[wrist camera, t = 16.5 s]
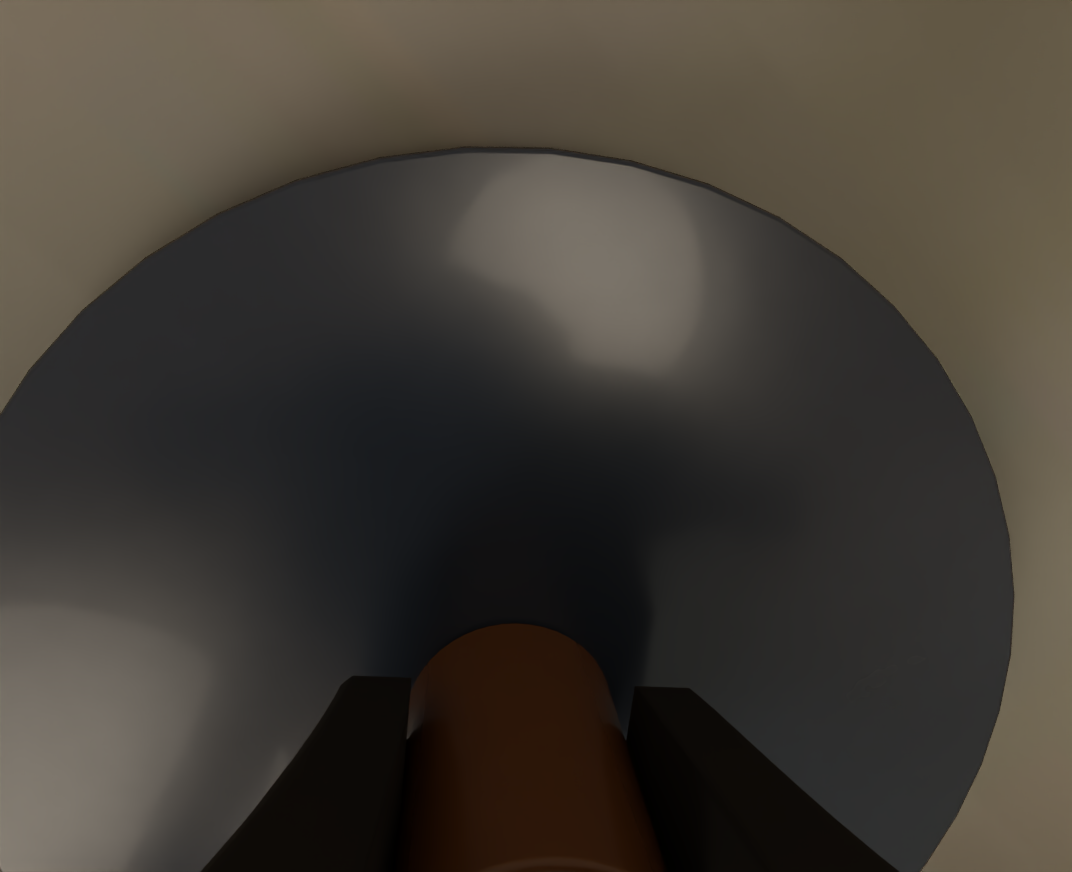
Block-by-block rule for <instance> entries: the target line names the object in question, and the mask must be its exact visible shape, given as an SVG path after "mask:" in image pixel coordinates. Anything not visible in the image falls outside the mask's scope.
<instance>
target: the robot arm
mask: <svg viewBox="0 0 1072 872" xmlns="http://www.w3.org/2000/svg"><path fill="white" fill-rule="evenodd" d="M410 687H411V678H404V677H377V676H351V677H350V678H349V679H348V680H346V681H345V682H344V683H343V684H341V685H340V687H339V689H338V691H337V693H336V695H335V697H334V698H333V700H332V702H331V703H330V705H329V706H328V708H327V710H326V711H325V713H324V715H323V716H322V718H321V719H320V721H319V722H318V724H317V725H316V727H315V728H314V730H313V731H312V733H311V734H310V735H309V737H308V738H307V740H306V741H305V743H304V744H303V745H302V747H301V748H300V750H299V751H298V752H297V754H296V755H295V757H294V758H293V759H292V761H291V762H290V763H289V765H288V766H287V767H286V768H285V770H284V771H283V772H282V774H281V775H280V776H279V778H278V779H277V780H276V781H275V783H274V784H273V785H272V787H271V788H270V789H269V790H268V792H267V793H266V794H265V796H264V797H263V798H262V800H261V801H260V802H259V803H258V805H257V806H256V807H255V809H254V810H253V811H252V812H251V814H250V815H249V816H248V817H247V818H246V820H245V821H244V822H243V823H242V825H241V826H240V827H239V828H238V829H237V830H236V832H235V833H234V834H233V835H232V836H231V837H230V838H229V840H228V841H227V842H226V843H225V844H224V845H223V846H222V848H221V849H220V850H219V851H218V852H217V853H216V854H215V856H214V857H213V858H212V859H211V860H210V861H209V862H208V864H207V865H206V866H205V867H204V868H203V869H202V870H201V872H393V861H394V852H395V842H396V836H397V830H398V823H399V817H400V810H401V799H402V787H403V776H404V764H405V753H406V741H407V727H408V714H409V700H410ZM626 743H627V746H628V749H629V752H630V756H631V759H632V762H633V765H634V768H635V771H636V774H637V777H638V781H639V784H640V787H641V790H642V793H643V796H644V799H645V802H646V805H647V809H648V812H649V815H650V818H651V821H652V824H653V827H654V830H655V833H656V837H657V840H658V843H659V846H660V849H661V852H662V855H663V858H664V861H665V865H666V868H667V871H668V872H899V871H898V870H897V869H896V868H894V867H893V866H892V865H891V864H889V863H888V862H887V861H886V860H884V859H883V858H882V857H881V856H879V855H878V854H877V853H876V852H874V851H873V850H872V849H871V848H870V847H869V846H867V845H866V844H865V843H864V842H863V841H861V840H860V839H859V838H858V837H857V836H855V835H854V834H853V833H852V832H851V831H850V830H848V829H847V828H846V827H845V826H844V825H842V824H841V823H840V822H839V821H838V820H837V819H835V818H834V817H833V816H832V815H831V814H830V813H829V812H827V811H826V810H825V809H824V808H823V807H822V806H820V805H819V804H818V803H817V802H816V801H815V800H814V799H813V798H811V797H810V796H809V795H808V794H807V793H806V792H805V791H804V790H802V789H801V788H800V787H799V786H798V785H797V784H796V783H795V782H793V781H792V780H791V779H790V778H789V777H788V776H787V775H786V774H785V773H783V772H782V771H781V770H780V769H779V768H778V767H777V766H776V765H775V764H774V763H772V762H771V761H770V760H769V759H768V758H767V757H766V756H765V755H764V754H763V753H762V752H760V751H759V750H758V749H757V748H756V747H755V746H754V745H753V744H752V743H751V742H750V741H748V740H747V739H746V738H745V737H744V736H743V735H742V734H741V733H740V732H739V731H738V730H737V729H735V728H734V727H733V726H732V725H731V724H730V723H729V722H728V721H727V720H726V719H724V718H723V717H722V716H721V715H720V714H719V713H718V712H717V711H716V710H715V709H713V708H712V707H711V706H710V705H709V704H708V703H707V702H706V701H704V700H703V699H702V698H701V697H700V696H698V695H697V694H696V693H695V692H694V691H692V690H691V689H690V688H677V687H650V686H635V689H634V695H633V701H632V707H631V714H630V720H629V726H628V732H627V739H626Z"/></svg>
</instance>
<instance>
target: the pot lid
mask: <svg viewBox="0 0 1072 872" xmlns="http://www.w3.org/2000/svg"><path fill="white" fill-rule="evenodd" d="M1013 610H1014V585H1013V574H1012V562H1011V550H1010V538H1009V532H1008V528H1007V524H1006V519H1005V515H1004V511H1003V507H1002V502H1001V498H1000V494H999V490H998V485H997V481H996V477H995V474H994V472H993V469H992V467H991V464H990V462H989V459H988V457H987V454H986V452H985V449H984V447H983V444H982V442H981V439H980V437H979V434H978V432H977V429H976V427H975V424H974V422H973V419H972V417H971V415H970V413H969V411H968V410H967V408H966V406H965V405H964V403H963V401H962V400H961V398H960V396H959V395H958V393H957V391H956V389H955V388H954V386H953V384H952V383H951V381H950V379H949V378H948V376H947V374H946V373H945V371H944V369H943V367H942V366H941V364H940V362H939V361H938V359H937V358H936V356H935V355H934V354H933V353H932V352H931V350H930V349H929V348H928V347H927V345H926V344H925V343H924V342H923V341H922V339H921V338H920V337H919V336H918V334H917V333H916V332H915V331H914V330H913V328H912V327H911V326H910V325H909V323H908V322H907V321H906V320H905V319H904V317H903V316H902V315H901V314H900V312H899V311H898V310H897V309H896V308H895V306H894V305H893V304H892V303H890V302H889V301H888V300H887V299H886V298H885V297H884V296H883V295H882V294H880V293H879V292H878V291H877V290H876V289H875V288H874V287H873V286H872V285H871V284H869V283H868V282H867V281H866V280H865V279H864V278H863V277H862V276H861V275H859V274H858V273H857V272H856V271H855V270H854V269H853V268H852V267H851V266H849V265H848V264H847V263H846V262H845V261H844V260H843V259H842V258H840V257H839V256H837V255H836V254H834V253H833V252H831V251H830V250H828V249H827V248H825V247H824V246H822V245H821V244H819V243H818V242H816V241H815V240H813V239H812V238H810V237H809V236H807V235H806V234H804V233H803V232H801V231H800V230H798V229H797V228H795V227H794V226H792V225H791V224H789V223H788V222H786V221H785V220H783V219H782V218H780V217H778V216H776V215H774V214H772V213H770V212H768V211H766V210H763V209H761V208H759V207H757V206H755V205H753V204H751V203H748V202H746V201H744V200H742V199H740V198H738V197H736V196H734V195H731V194H729V193H727V192H725V191H723V190H721V189H719V188H717V187H714V186H712V185H710V184H708V183H704V182H701V181H698V180H694V179H691V178H688V177H685V176H681V175H678V174H675V173H671V172H668V171H665V170H661V169H658V168H655V167H652V166H648V165H645V164H642V163H638V162H635V161H632V160H625V159H619V158H613V157H606V156H600V155H593V154H587V153H580V152H574V151H567V150H561V149H554V148H529V147H458V148H450V149H442V150H434V151H426V152H418V153H410V154H402V155H394V156H386V157H379V158H375V159H372V160H368V161H364V162H360V163H357V164H353V165H349V166H346V167H342V168H338V169H335V170H331V171H327V172H323V173H320V174H316V175H312V176H309V177H305V178H301V179H298V180H295V181H292V182H290V183H288V184H285V185H283V186H281V187H278V188H276V189H274V190H271V191H269V192H267V193H264V194H262V195H260V196H257V197H255V198H253V199H250V200H248V201H246V202H243V203H241V204H239V205H236V206H234V207H232V208H229V209H227V210H225V211H222V212H220V213H218V214H216V215H214V216H213V217H211V218H209V219H208V220H206V221H204V222H203V223H201V224H199V225H198V226H196V227H195V228H193V229H191V230H190V231H188V232H186V233H185V234H183V235H181V236H180V237H178V238H177V239H175V240H173V241H172V242H170V243H168V244H167V245H165V246H163V247H162V248H160V249H158V250H157V251H155V252H154V253H152V254H150V255H149V256H147V257H145V258H144V259H143V260H142V261H140V262H139V263H138V264H137V265H136V266H134V267H133V268H132V269H131V270H130V271H128V272H127V273H126V274H125V275H124V276H122V277H121V278H120V279H119V280H118V281H116V282H115V283H114V284H113V285H112V286H110V287H109V288H108V289H107V290H106V291H104V292H103V293H102V294H101V295H100V296H98V297H97V298H96V299H95V300H94V301H92V302H91V303H90V304H89V305H88V306H86V307H85V308H84V309H83V310H82V311H81V312H80V313H79V314H78V315H77V316H76V317H75V319H74V320H73V321H72V322H71V323H70V324H69V325H68V326H67V328H66V329H65V330H64V331H63V332H62V333H61V334H60V335H59V337H58V338H57V339H56V340H55V341H54V342H53V343H52V344H51V346H50V347H49V348H48V349H47V350H46V351H45V352H44V353H43V355H42V356H41V357H40V358H39V359H38V360H37V361H36V362H35V364H34V365H33V366H32V367H31V368H30V369H29V370H28V372H27V374H26V375H25V377H24V378H23V380H22V381H21V383H20V384H19V386H18V388H17V389H16V391H15V392H14V394H13V395H12V397H11V398H10V400H9V402H8V403H7V405H6V406H5V408H4V409H3V411H2V412H1V414H0V872H201V870H202V869H203V868H204V867H205V866H206V865H207V864H208V862H209V861H210V860H211V859H212V858H213V857H214V856H215V854H216V853H217V852H218V851H219V850H220V849H221V848H222V846H223V845H224V844H225V843H226V842H227V841H228V840H229V838H230V837H231V836H232V835H233V834H234V833H235V832H236V830H237V829H238V828H239V827H240V826H241V825H242V823H243V822H244V821H245V820H246V818H247V817H248V816H249V815H250V814H251V812H252V811H253V810H254V809H255V807H256V806H257V805H258V803H259V802H260V801H261V800H262V798H263V797H264V796H265V794H266V793H267V792H268V790H269V789H270V788H271V787H272V785H273V784H274V783H275V781H276V780H277V779H278V778H279V776H280V775H281V774H282V772H283V771H284V770H285V768H286V767H287V766H288V765H289V763H290V762H291V761H292V759H293V758H294V757H295V755H296V754H297V752H298V751H299V750H300V748H301V747H302V745H303V744H304V743H305V741H306V740H307V738H308V737H309V735H310V734H311V733H312V731H313V730H314V728H315V727H316V725H317V724H318V722H319V721H320V719H321V718H322V716H323V715H324V713H325V711H326V710H327V708H328V706H329V705H330V703H331V702H332V700H333V698H334V697H335V695H336V693H337V691H338V689H339V687H340V685H341V684H343V683H344V682H345V681H346V680H348V679H349V678H350V677H351V676H377V677H404V678H411V687H410V700H409V714H408V727H407V741H406V753H405V764H404V776H403V787H402V799H401V810H400V817H399V823H398V830H397V836H396V842H395V852H394V861H393V872H668V871H667V868H666V865H665V861H664V858H663V855H662V852H661V849H660V846H659V843H658V840H657V837H656V833H655V830H654V827H653V824H652V821H651V818H650V815H649V812H648V809H647V805H646V802H645V799H644V796H643V793H642V790H641V787H640V784H639V781H638V777H637V774H636V771H635V768H634V765H633V762H632V759H631V756H630V752H629V749H628V746H627V743H626V739H627V732H628V726H629V720H630V714H631V707H632V701H633V695H634V689H635V686H650V687H677V688H690V689H691V690H692V691H694V692H695V693H696V694H697V695H698V696H700V697H701V698H702V699H703V700H704V701H706V702H707V703H708V704H709V705H710V706H711V707H712V708H713V709H715V710H716V711H717V712H718V713H719V714H720V715H721V716H722V717H723V718H724V719H726V720H727V721H728V722H729V723H730V724H731V725H732V726H733V727H734V728H735V729H737V730H738V731H739V732H740V733H741V734H742V735H743V736H744V737H745V738H746V739H747V740H748V741H750V742H751V743H752V744H753V745H754V746H755V747H756V748H757V749H758V750H759V751H760V752H762V753H763V754H764V755H765V756H766V757H767V758H768V759H769V760H770V761H771V762H772V763H774V764H775V765H776V766H777V767H778V768H779V769H780V770H781V771H782V772H783V773H785V774H786V775H787V776H788V777H789V778H790V779H791V780H792V781H793V782H795V783H796V784H797V785H798V786H799V787H800V788H801V789H802V790H804V791H805V792H806V793H807V794H808V795H809V796H810V797H811V798H813V799H814V800H815V801H816V802H817V803H818V804H819V805H820V806H822V807H823V808H824V809H825V810H826V811H827V812H829V813H830V814H831V815H832V816H833V817H834V818H835V819H837V820H838V821H839V822H840V823H841V824H842V825H844V826H845V827H846V828H847V829H848V830H850V831H851V832H852V833H853V834H854V835H855V836H857V837H858V838H859V839H860V840H861V841H863V842H864V843H865V844H866V845H867V846H869V847H870V848H871V849H872V850H873V851H874V852H876V853H877V854H878V855H879V856H881V857H882V858H883V859H884V860H886V861H887V862H888V863H889V864H891V865H892V866H893V867H894V868H896V869H897V870H898V871H899V872H920V871H921V870H922V869H923V867H924V866H925V865H926V863H927V862H928V860H929V859H930V857H931V856H932V854H933V852H934V851H935V849H936V848H937V846H938V845H939V843H940V841H941V840H942V838H943V837H944V835H945V834H946V832H947V831H948V829H949V827H950V826H951V824H952V823H953V821H954V820H955V818H956V816H957V814H958V812H959V810H960V808H961V806H962V804H963V802H964V800H965V798H966V796H967V794H968V792H969V790H970V788H971V785H972V783H973V781H974V779H975V777H976V775H977V773H978V771H979V769H980V767H981V765H982V762H983V759H984V756H985V753H986V750H987V747H988V744H989V741H990V738H991V735H992V732H993V729H994V726H995V723H996V720H997V717H998V714H999V711H1000V707H1001V702H1002V697H1003V691H1004V686H1005V681H1006V676H1007V671H1008V666H1009V661H1010V656H1011V644H1012V627H1013Z"/></svg>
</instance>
